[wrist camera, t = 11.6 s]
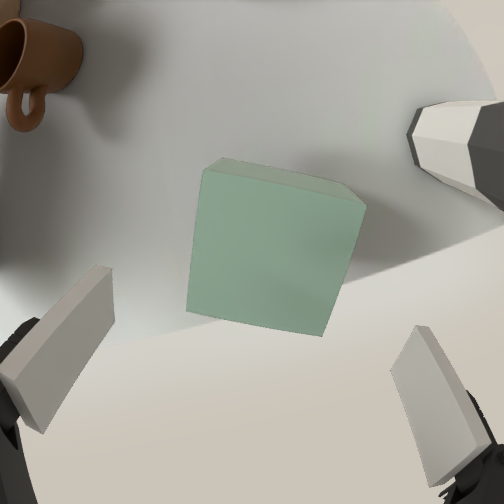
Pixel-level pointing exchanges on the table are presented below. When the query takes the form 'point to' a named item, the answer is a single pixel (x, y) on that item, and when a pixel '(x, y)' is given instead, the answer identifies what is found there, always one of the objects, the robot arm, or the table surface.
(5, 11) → the vase
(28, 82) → the mug
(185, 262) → the table surface
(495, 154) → the wine bottle
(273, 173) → the sage green foam cube
